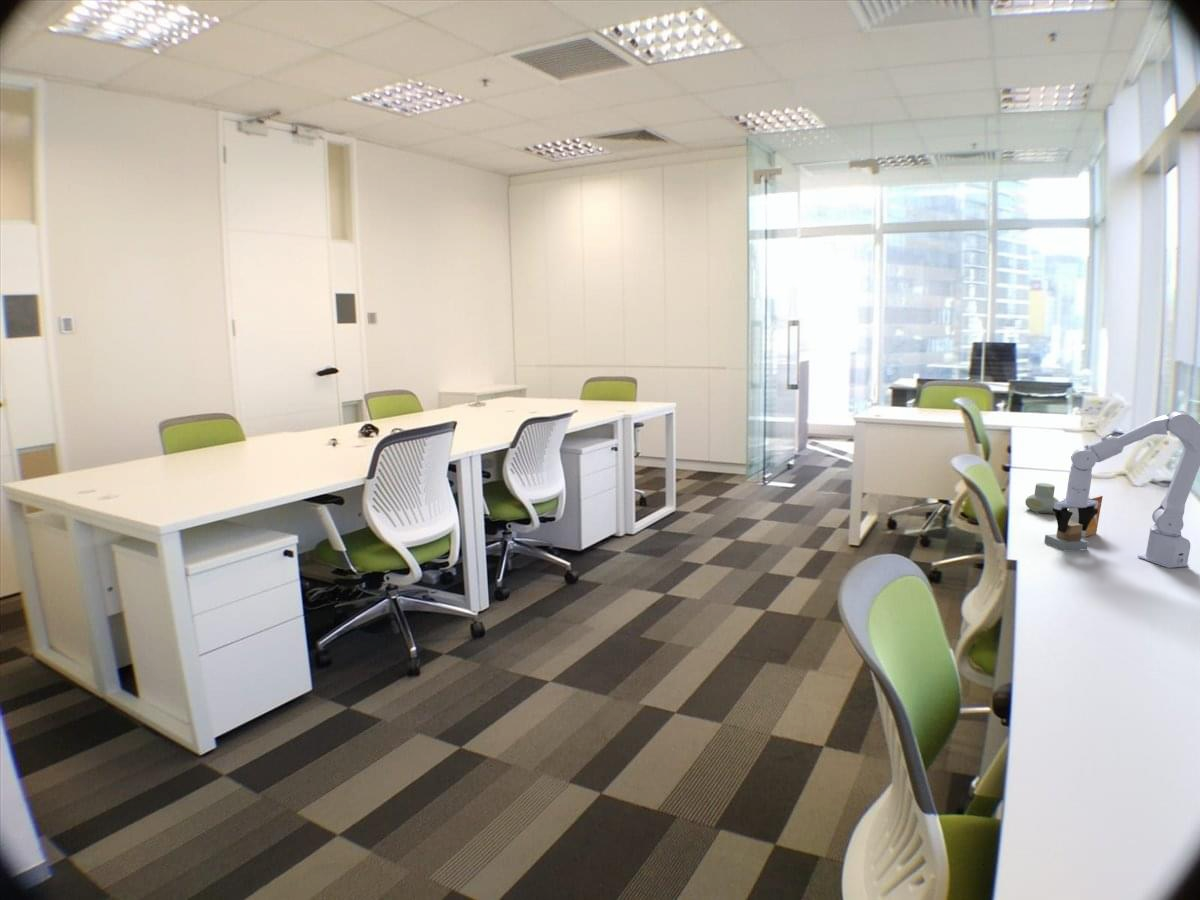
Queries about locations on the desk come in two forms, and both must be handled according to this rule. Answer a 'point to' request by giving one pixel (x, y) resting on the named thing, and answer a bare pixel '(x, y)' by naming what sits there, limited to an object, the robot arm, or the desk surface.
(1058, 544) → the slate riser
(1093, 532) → the small box
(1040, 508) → the air freshener
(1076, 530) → the walnut block
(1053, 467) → the desk surface
